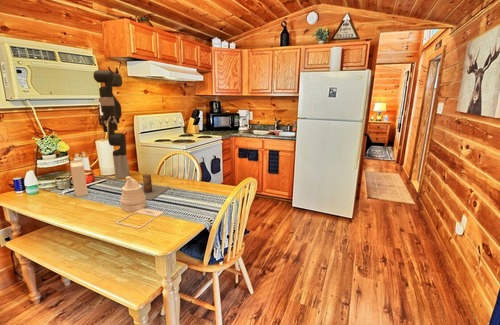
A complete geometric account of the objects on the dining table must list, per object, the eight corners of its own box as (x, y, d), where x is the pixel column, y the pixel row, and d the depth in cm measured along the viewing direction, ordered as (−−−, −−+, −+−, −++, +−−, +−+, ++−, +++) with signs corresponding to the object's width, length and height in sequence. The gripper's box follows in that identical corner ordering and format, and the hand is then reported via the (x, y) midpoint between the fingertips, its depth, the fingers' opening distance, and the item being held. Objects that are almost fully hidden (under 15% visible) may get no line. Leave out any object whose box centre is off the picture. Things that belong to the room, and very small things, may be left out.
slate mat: (146, 185, 176) (146, 184, 176) (169, 188, 173) (169, 187, 172) (124, 197, 156) (124, 196, 155) (150, 200, 152) (150, 199, 152)
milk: (88, 194, 160) (83, 160, 154) (76, 197, 156) (70, 162, 150) (85, 191, 164) (80, 158, 158) (74, 194, 160) (69, 159, 154)
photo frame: (163, 211, 136) (139, 227, 120) (164, 213, 136) (139, 229, 120) (141, 207, 141) (115, 222, 124) (141, 209, 141) (115, 224, 124)
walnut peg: (147, 189, 167) (145, 173, 164) (153, 190, 166) (152, 174, 163) (142, 192, 162) (141, 175, 160) (149, 193, 161) (147, 176, 159)
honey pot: (137, 212, 136) (133, 180, 131) (115, 210, 138) (111, 178, 134) (151, 203, 148) (148, 173, 144) (131, 201, 151) (127, 171, 146)
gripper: (110, 104, 165) (113, 129, 169) (93, 105, 151) (96, 132, 156) (120, 104, 163) (123, 130, 167) (104, 105, 150) (107, 133, 154)
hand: (110, 131), depth 161 cm, fingers open, 8 cm apart
